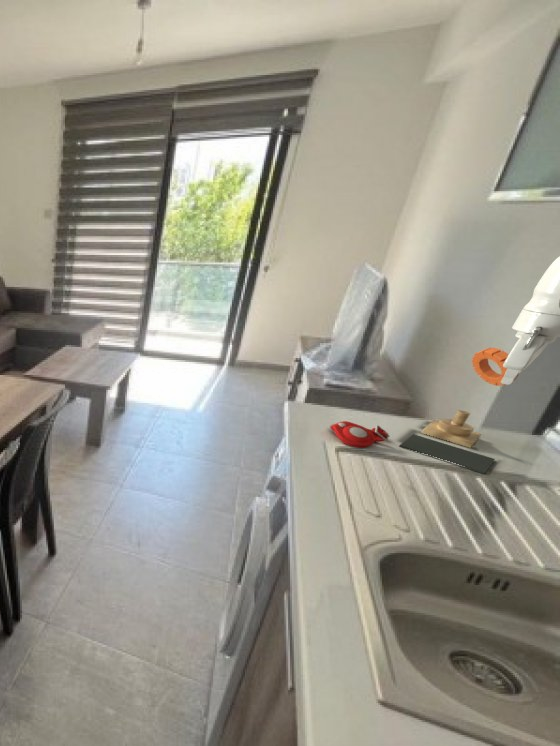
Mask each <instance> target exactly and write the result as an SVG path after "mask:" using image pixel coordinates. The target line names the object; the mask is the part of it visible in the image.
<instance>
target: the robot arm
mask: <svg viewBox="0 0 560 746" xmlns="http://www.w3.org/2000/svg"><path fill="white" fill-rule="evenodd" d="M511 329H512V330H514V331H516V333H515V335H514V337H515V338H518V339H517V340H516V342H515V344H514V346H513V347H512V349H511V350H510V352H509V353H508V354H509V355H508V357H507V359H506V360H505V362H504V364H503V367H504V368H507V370H506V372H505V375H504V377H503V379H502V380H501V383H502V384H505V385H508V386H510V385H511V384H512V383H513V382H514V381H515V380H514V379H515V377H516V376H517V374H518V373H519V374H518V376H519V375H520V374H521V372H523V371H525V370H526V369H527V368H528V367H529V365H531V364H532V363H533V361H535V360H536V359H537V358H538V357H539V356H540V355H541V354H542V352H543V351H544V350H545V349H546V347H547V346H548V345H549V344H552V343H554V342H555V340H556V339H557V338H560V255H559V256H558V257H556V258H555V259H554V260H553V262H552V263H551V264H550V265H549V266H548V268H547V269H546V270H545V271H544V273H543V275H542V276H541V278H540V279H539V280H538V282H537V284H536V286H535V287H534V289H533V293H532V297H531V299H530V300H529V301H528V302H527V303H526V304H525V305H524V306H523V307H522V309H521V311H520V313H519V315H518V316H517V318H516V320H515V321H514V323H513V325H512V326H511ZM513 380H514V381H513Z"/></svg>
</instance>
